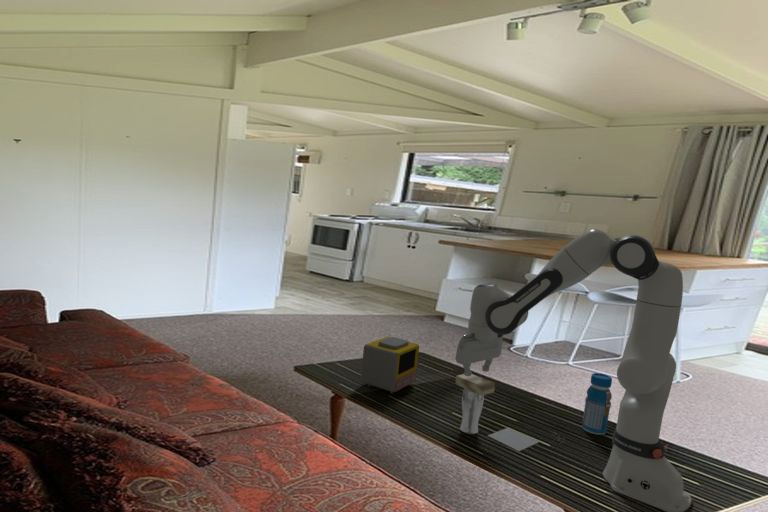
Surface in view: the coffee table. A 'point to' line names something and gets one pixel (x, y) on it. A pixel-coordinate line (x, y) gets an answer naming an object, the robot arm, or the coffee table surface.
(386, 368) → the alarm clock
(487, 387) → the birch lid
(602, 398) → the beverage bottle
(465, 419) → the beer glass
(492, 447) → the coffee table surface
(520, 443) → the grey mat
